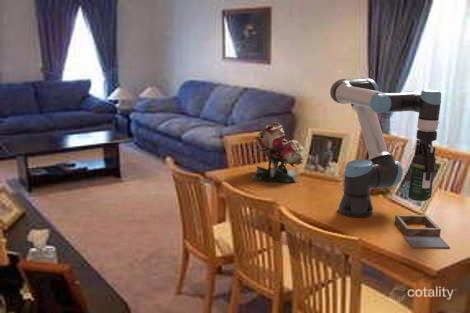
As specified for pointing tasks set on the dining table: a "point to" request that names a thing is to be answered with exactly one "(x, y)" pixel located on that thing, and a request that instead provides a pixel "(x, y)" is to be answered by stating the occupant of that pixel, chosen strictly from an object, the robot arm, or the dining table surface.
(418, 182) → the coffee jar
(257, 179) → the rose bouquet
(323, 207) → the dining table surface
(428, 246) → the slate mat
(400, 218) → the holder frame
